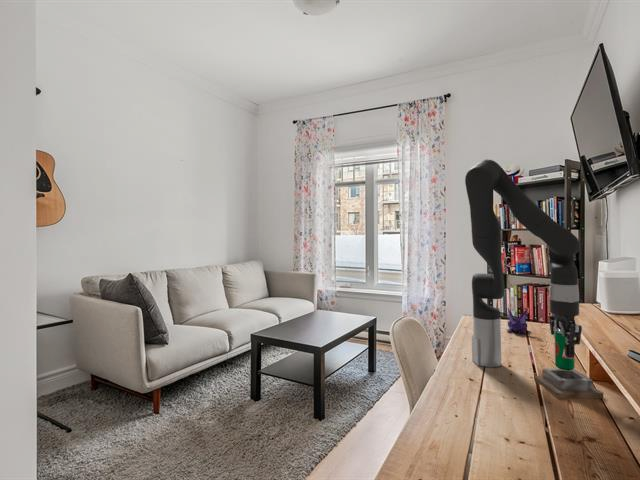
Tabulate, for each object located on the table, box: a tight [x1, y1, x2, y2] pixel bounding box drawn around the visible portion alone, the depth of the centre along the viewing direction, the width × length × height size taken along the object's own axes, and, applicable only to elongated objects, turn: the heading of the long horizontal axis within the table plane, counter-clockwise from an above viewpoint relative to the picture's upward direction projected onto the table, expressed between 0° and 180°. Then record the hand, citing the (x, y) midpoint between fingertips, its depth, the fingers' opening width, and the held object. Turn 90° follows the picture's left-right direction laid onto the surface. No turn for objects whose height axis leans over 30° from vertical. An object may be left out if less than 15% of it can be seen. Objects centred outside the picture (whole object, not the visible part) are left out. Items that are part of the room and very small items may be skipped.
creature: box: [506, 307, 528, 335], centre depth 179 cm, size 9×18×12 cm, turn 147°
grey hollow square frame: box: [533, 368, 604, 399], centre depth 115 cm, size 13×13×4 cm
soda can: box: [554, 328, 576, 370], centre depth 115 cm, size 5×5×12 cm
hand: (564, 353), depth 115 cm, fingers closed on soda can, 5 cm apart
